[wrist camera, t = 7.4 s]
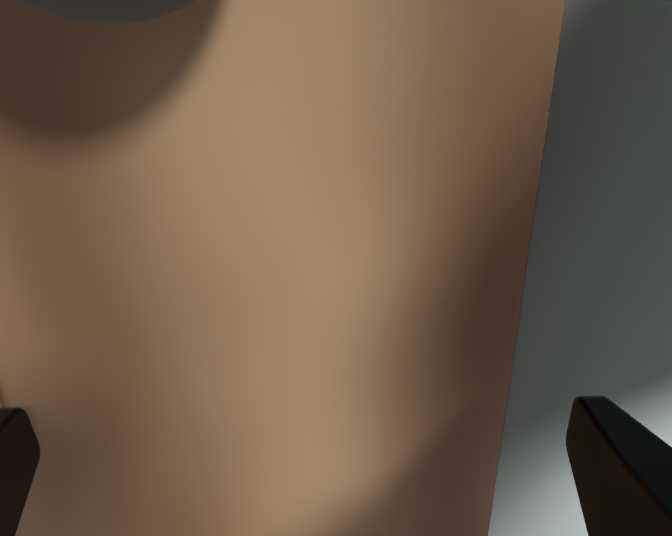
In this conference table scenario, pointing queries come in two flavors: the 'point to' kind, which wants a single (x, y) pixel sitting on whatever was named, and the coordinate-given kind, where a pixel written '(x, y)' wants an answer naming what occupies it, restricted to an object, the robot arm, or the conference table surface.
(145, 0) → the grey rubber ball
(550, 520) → the conference table surface
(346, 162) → the walnut deck
